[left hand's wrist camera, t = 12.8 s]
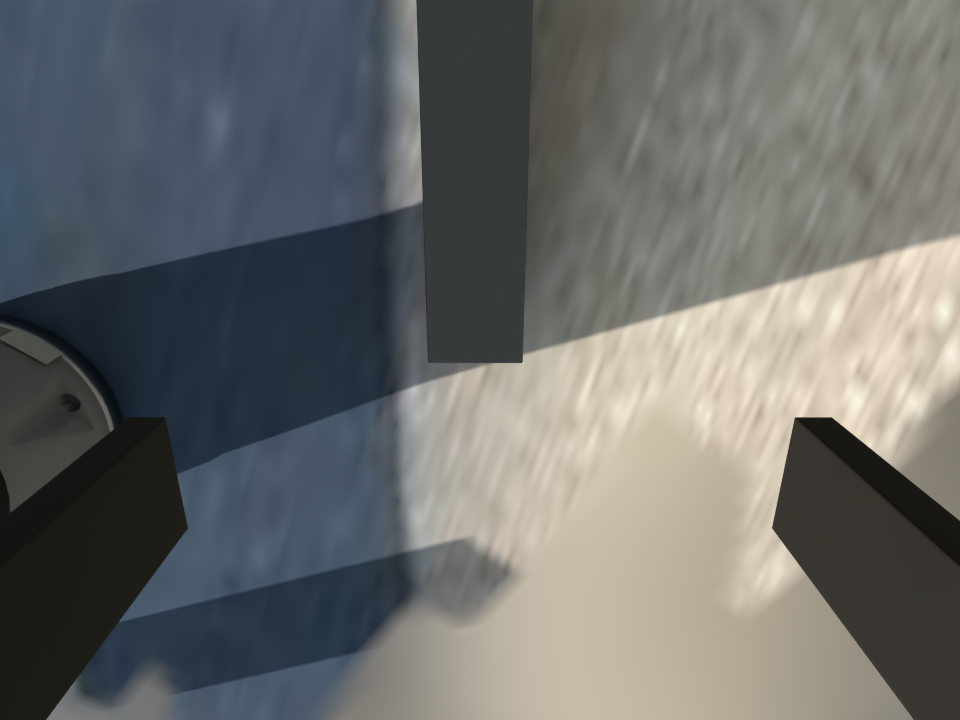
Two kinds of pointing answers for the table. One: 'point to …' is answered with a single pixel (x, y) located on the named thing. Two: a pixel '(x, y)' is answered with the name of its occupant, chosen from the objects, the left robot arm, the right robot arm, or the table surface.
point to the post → (474, 175)
